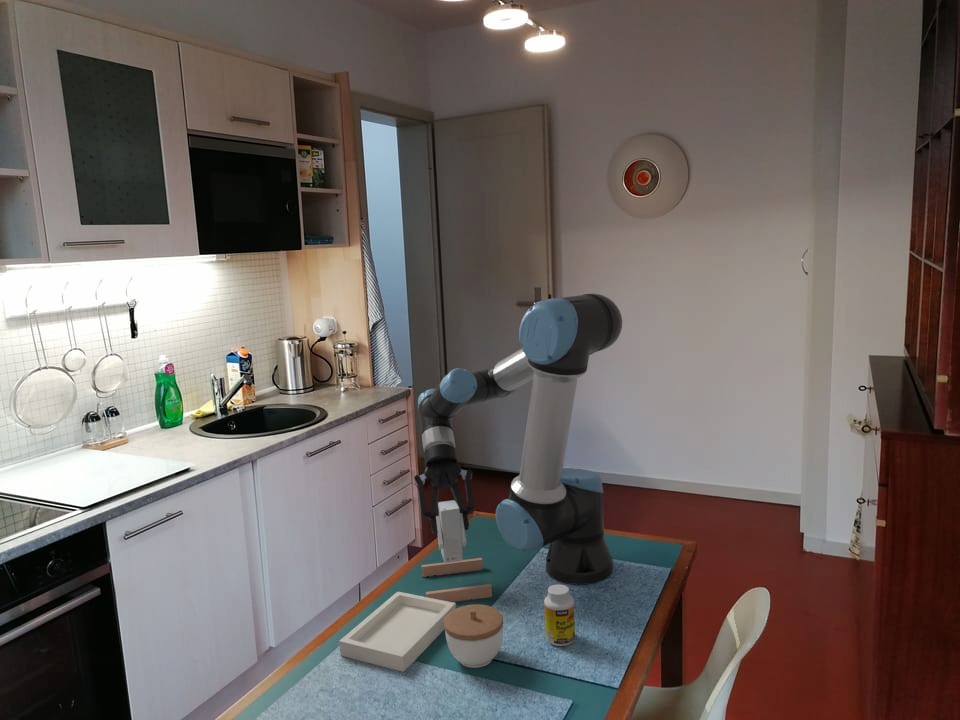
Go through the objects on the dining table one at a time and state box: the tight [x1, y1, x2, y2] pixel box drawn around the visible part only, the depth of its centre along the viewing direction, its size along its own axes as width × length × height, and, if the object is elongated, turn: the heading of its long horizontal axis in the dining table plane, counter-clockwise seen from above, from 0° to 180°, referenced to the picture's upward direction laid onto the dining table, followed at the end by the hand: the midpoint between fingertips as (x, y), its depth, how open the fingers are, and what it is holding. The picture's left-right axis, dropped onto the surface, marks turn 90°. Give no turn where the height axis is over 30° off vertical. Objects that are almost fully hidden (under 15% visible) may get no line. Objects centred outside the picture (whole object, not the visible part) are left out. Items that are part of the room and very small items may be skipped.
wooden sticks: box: [421, 557, 493, 603], centre depth 157 cm, size 14×14×2 cm
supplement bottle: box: [543, 584, 576, 647], centre depth 133 cm, size 6×6×10 cm
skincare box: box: [437, 499, 464, 563], centre depth 155 cm, size 6×4×12 cm
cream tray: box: [338, 591, 457, 673], centre depth 138 cm, size 20×14×3 cm
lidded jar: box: [444, 604, 504, 669], centre depth 128 cm, size 11×11×9 cm
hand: (452, 545), depth 152 cm, fingers closed on skincare box, 4 cm apart
